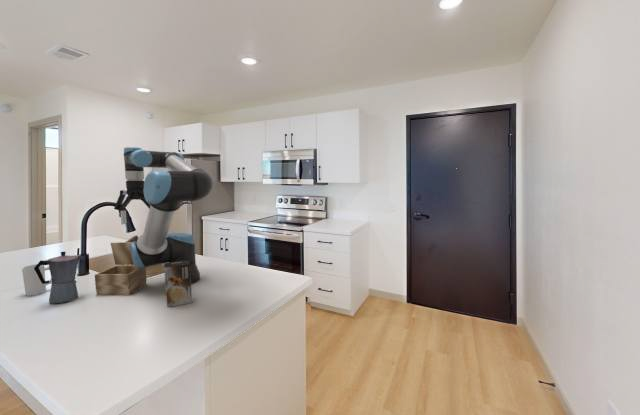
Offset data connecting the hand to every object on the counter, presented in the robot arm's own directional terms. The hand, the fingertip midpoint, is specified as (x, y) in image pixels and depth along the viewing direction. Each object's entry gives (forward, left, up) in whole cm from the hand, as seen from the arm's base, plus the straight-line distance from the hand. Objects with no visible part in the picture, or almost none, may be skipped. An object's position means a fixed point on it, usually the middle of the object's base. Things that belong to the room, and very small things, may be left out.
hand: (138, 224), depth 138 cm
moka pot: (+17, +25, -28) cm, 41 cm away
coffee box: (-31, +27, -28) cm, 50 cm away
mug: (+34, +16, -28) cm, 47 cm away
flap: (0, +10, -12) cm, 16 cm away
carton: (0, +14, -28) cm, 31 cm away
